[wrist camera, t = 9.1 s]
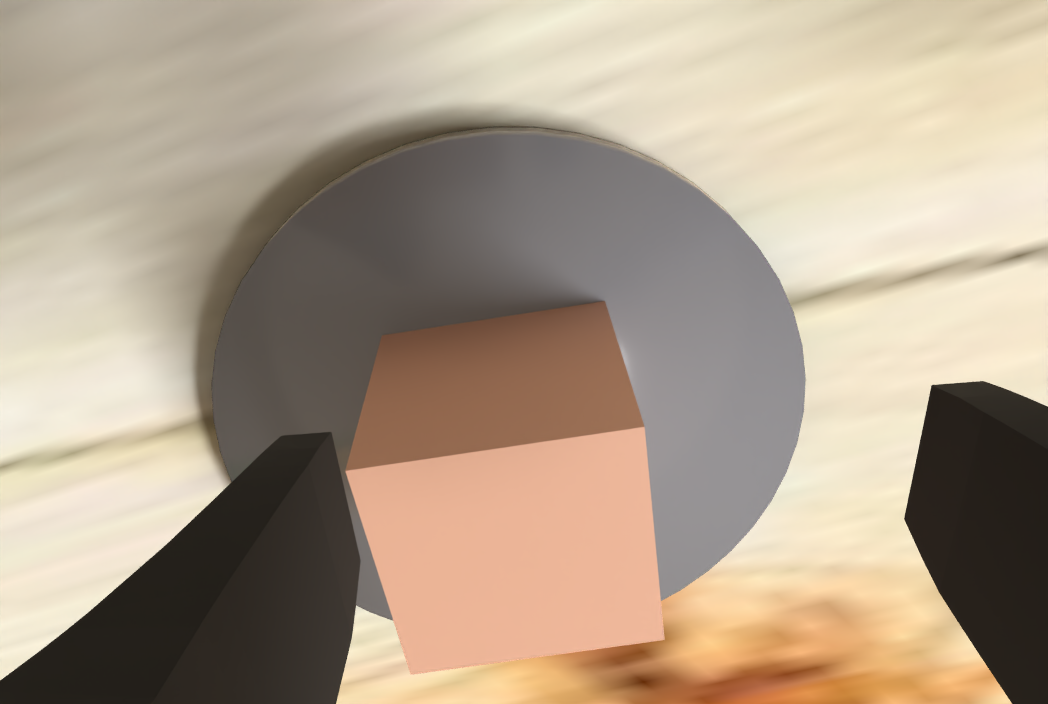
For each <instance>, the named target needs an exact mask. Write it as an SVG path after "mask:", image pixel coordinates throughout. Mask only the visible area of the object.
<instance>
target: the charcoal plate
mask: <svg viewBox="0 0 1048 704" xmlns="http://www.w3.org/2000/svg"><path fill="white" fill-rule="evenodd" d="M602 301H605V303H606V306H607V309H608V312H609V315H610V319H611V322H612V325H613V328H614V331H615V334H616V338H617V341H618V344H619V347H620V350H621V354H622V357H623V360H624V363H625V366H626V369H627V373H628V376H629V379H630V382H631V385H632V388H633V392H634V395H635V398H636V401H637V404H638V407H639V411H640V414H641V417H642V420H643V423H644V426H645V436H646V447H647V458H648V468H649V479H650V490H651V501H652V511H653V522H654V533H655V543H656V554H657V565H658V576H659V586H660V597H661V601H662V600H664V599H665V598H667V597H669V596H671V595H673V594H674V593H676V592H678V591H680V590H682V589H683V588H685V587H686V586H687V585H689V584H690V583H692V582H693V581H695V580H696V579H697V578H699V577H700V576H702V575H703V574H705V573H706V572H707V571H709V570H710V569H711V568H712V567H713V566H714V565H715V564H717V563H718V562H719V561H720V560H721V559H722V558H724V557H725V556H726V555H727V554H728V553H729V552H730V551H732V549H733V548H734V547H735V546H736V545H737V544H738V543H739V542H740V541H741V540H742V538H743V537H744V536H745V535H746V534H747V533H748V532H749V531H750V530H751V529H752V527H753V526H754V525H755V523H756V522H757V520H758V519H759V518H760V516H761V515H762V513H763V512H764V511H765V509H766V508H767V506H768V505H769V504H770V502H771V501H772V499H773V497H774V495H775V493H776V491H777V489H778V487H779V485H780V484H781V482H782V480H783V478H784V476H785V474H786V472H787V469H788V466H789V464H790V461H791V458H792V455H793V453H794V450H795V447H796V445H797V441H798V436H799V431H800V427H801V422H802V417H803V412H804V397H805V379H806V378H805V368H804V358H803V348H802V343H801V339H800V335H799V331H798V327H797V323H796V320H795V316H794V312H793V310H792V307H791V305H790V303H789V301H788V298H787V296H786V294H785V292H784V289H783V287H782V285H781V283H780V280H779V278H778V277H777V275H776V274H775V272H774V271H773V269H772V268H771V266H770V264H769V263H768V261H767V260H766V258H765V257H764V255H763V254H762V252H761V251H760V249H759V248H758V246H757V245H756V244H755V243H754V242H753V241H752V239H751V238H750V237H749V236H748V235H747V234H746V233H745V232H744V230H743V229H742V228H741V227H740V226H739V225H738V224H737V223H736V221H735V220H734V219H733V218H732V217H731V216H730V215H729V214H728V212H727V211H726V210H725V209H724V208H723V207H722V206H721V205H720V204H718V203H717V202H716V201H715V200H714V199H712V198H711V197H710V196H709V195H708V194H706V193H705V192H704V191H703V190H702V189H700V188H699V187H698V186H697V185H696V184H694V183H693V182H691V181H690V180H688V179H687V178H685V177H683V176H682V175H680V174H678V173H677V172H675V171H674V170H672V169H670V168H669V167H667V166H665V165H664V164H662V163H660V162H659V161H657V160H654V159H652V158H650V157H647V156H645V155H643V154H640V153H638V152H636V151H633V150H631V149H629V148H627V147H624V146H622V145H619V144H616V143H612V142H609V141H605V140H601V139H598V138H594V137H590V136H587V135H583V134H580V133H573V132H566V131H559V130H551V129H544V128H536V127H489V128H481V129H474V130H466V131H458V132H451V133H445V134H441V135H438V136H434V137H430V138H427V139H423V140H419V141H416V142H412V143H408V144H405V145H402V146H400V147H398V148H395V149H393V150H391V151H388V152H386V153H383V154H381V155H379V156H376V157H374V158H372V159H369V160H367V161H365V162H363V163H361V164H360V165H358V166H356V167H355V168H353V169H351V170H350V171H348V172H346V173H345V174H343V175H341V176H340V177H338V178H336V179H335V180H333V181H331V182H330V183H328V184H327V185H326V186H325V187H323V188H322V189H321V190H320V191H319V192H317V193H316V194H315V195H314V196H312V197H311V198H310V199H309V200H308V201H306V202H305V203H304V204H303V205H301V206H300V207H299V208H298V209H297V210H296V211H295V212H294V213H293V214H292V215H291V216H290V217H289V219H288V220H287V221H286V222H285V223H284V224H283V225H282V226H281V227H280V228H279V230H278V231H277V232H276V233H275V234H274V235H273V236H272V237H271V239H270V240H269V241H268V243H267V244H266V245H265V247H264V248H263V250H262V251H261V253H260V254H259V256H258V257H257V259H256V260H255V262H254V263H253V265H252V266H251V268H250V269H249V271H248V272H247V274H246V275H245V277H244V278H243V280H242V281H241V283H240V285H239V287H238V289H237V291H236V294H235V296H234V298H233V300H232V302H231V305H230V307H229V309H228V311H227V313H226V315H225V318H224V322H223V326H222V329H221V333H220V336H219V340H218V344H217V347H216V351H215V360H214V369H213V378H212V401H213V420H214V424H215V429H216V434H217V439H218V443H219V448H220V452H221V455H222V458H223V460H224V463H225V466H226V468H227V471H228V474H229V476H230V479H231V482H233V481H234V480H235V479H236V478H237V477H238V476H239V475H240V474H241V473H242V472H243V471H244V470H245V469H246V468H247V467H248V466H249V465H250V464H251V463H252V462H253V461H254V460H255V459H256V458H257V457H258V456H259V455H260V454H261V453H262V452H264V451H265V450H266V449H267V448H268V447H269V446H270V445H271V444H272V443H273V442H275V441H276V440H277V439H278V438H279V437H280V436H283V435H296V434H309V433H322V432H332V436H333V441H334V445H335V450H336V454H337V458H338V463H339V467H340V472H341V476H342V480H343V485H344V489H345V494H346V498H347V502H348V507H349V511H350V516H351V520H352V524H353V529H354V533H355V538H356V542H357V546H358V551H359V555H360V560H361V562H360V572H359V581H358V591H357V600H356V605H357V606H359V607H361V608H363V609H365V610H367V611H369V612H371V613H374V614H377V615H379V616H382V617H385V618H387V619H390V620H393V618H392V615H391V611H390V608H389V605H388V602H387V599H386V596H385V593H384V590H383V587H382V583H381V580H380V577H379V574H378V571H377V568H376V565H375V562H374V559H373V556H372V552H371V549H370V546H369V543H368V540H367V537H366V534H365V531H364V528H363V524H362V521H361V518H360V515H359V512H358V509H357V506H356V503H355V500H354V496H353V493H352V490H351V487H350V484H349V481H348V478H347V475H346V472H345V470H346V466H347V463H348V459H349V455H350V452H351V448H352V444H353V441H354V437H355V433H356V429H357V426H358V422H359V418H360V415H361V411H362V407H363V404H364V400H365V396H366V392H367V389H368V385H369V381H370V378H371V374H372V370H373V367H374V363H375V359H376V355H377V352H378V348H379V344H380V341H381V337H382V335H388V334H394V333H401V332H407V331H414V330H420V329H427V328H433V327H440V326H446V325H453V324H459V323H466V322H472V321H479V320H485V319H492V318H498V317H505V316H511V315H518V314H524V313H531V312H537V311H544V310H550V309H557V308H563V307H570V306H576V305H583V304H589V303H596V302H602Z"/></svg>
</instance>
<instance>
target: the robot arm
mask: <svg viewBox="0 0 1048 704" xmlns="http://www.w3.org/2000/svg"><path fill="white" fill-rule="evenodd" d="M904 519H905V522H906V524H907V526H908V528H909V530H910V533H911V535H912V537H913V539H914V541H915V544H916V546H917V548H918V550H919V552H920V554H921V557H922V559H923V561H924V563H925V565H926V567H927V569H928V571H929V573H930V575H931V577H932V579H933V581H934V583H935V585H936V587H937V589H938V591H939V593H940V594H941V596H942V597H943V599H944V601H945V602H946V604H947V605H948V607H949V608H950V610H951V612H952V613H953V615H954V616H955V618H956V619H957V621H958V622H959V624H960V625H961V627H962V629H963V630H964V632H965V633H966V635H967V636H968V638H969V639H970V641H971V642H972V644H973V645H974V647H975V648H976V650H977V651H978V653H979V655H980V656H981V658H982V659H983V661H984V662H985V664H986V665H987V667H988V668H989V670H990V671H991V673H992V674H993V676H994V677H995V679H996V680H997V682H998V683H999V684H1000V686H1001V687H1002V689H1003V690H1004V692H1005V693H1006V695H1007V696H1008V698H1009V699H1010V701H1011V702H1012V704H1048V407H1047V406H1045V405H1043V404H1040V403H1038V402H1036V401H1033V400H1031V399H1029V398H1026V397H1024V396H1022V395H1019V394H1017V393H1014V392H1012V391H1009V390H1006V389H1004V388H1001V387H998V386H995V385H993V384H990V383H987V382H984V381H980V382H967V383H954V384H941V385H932V386H931V391H930V396H929V401H928V406H927V411H926V416H925V420H924V425H923V430H922V435H921V440H920V445H919V450H918V454H917V459H916V464H915V469H914V474H913V479H912V484H911V489H910V493H909V498H908V503H907V508H906V513H905V518H904ZM360 562H361V560H360V555H359V551H358V546H357V542H356V538H355V533H354V529H353V524H352V520H351V516H350V511H349V507H348V502H347V498H346V494H345V489H344V485H343V480H342V476H341V472H340V467H339V463H338V458H337V454H336V450H335V445H334V441H333V436H332V432H322V433H309V434H296V435H283V436H280V437H279V438H278V439H277V440H276V441H275V442H273V443H272V444H271V445H270V446H269V447H268V448H267V449H266V450H265V451H264V452H262V453H261V454H260V455H259V456H258V457H257V458H256V459H255V460H254V461H253V462H252V463H251V464H250V465H249V466H248V467H247V468H246V469H245V470H244V471H243V472H242V473H241V474H240V475H239V476H238V477H237V478H236V479H235V480H234V481H233V482H231V483H230V484H229V485H228V486H227V487H226V488H225V489H224V490H223V491H222V492H221V493H220V494H219V495H218V496H217V497H216V498H215V499H214V500H213V501H212V502H211V503H210V504H209V505H208V506H207V507H206V508H204V509H203V510H202V511H201V512H200V513H199V514H198V515H197V516H196V517H195V518H194V519H193V520H192V521H191V522H190V523H189V524H188V525H187V526H186V527H184V528H183V529H182V530H181V531H180V532H179V533H178V534H177V535H176V536H175V537H174V538H173V539H172V540H171V541H170V542H169V543H167V544H166V545H165V546H164V547H163V548H162V549H161V550H160V551H159V552H157V553H156V554H155V555H154V556H153V557H152V558H151V559H149V560H148V561H147V562H146V563H145V564H144V565H142V566H141V567H140V568H139V569H138V570H137V571H136V572H134V573H133V574H132V575H131V576H130V577H129V578H128V579H126V580H125V581H124V582H123V583H122V584H121V585H119V586H118V587H117V588H116V589H115V590H114V591H113V592H111V593H110V594H109V595H108V596H107V597H106V598H105V599H103V600H102V601H101V602H100V603H99V604H98V605H96V606H95V607H94V608H93V609H92V610H91V611H90V612H88V613H87V614H86V615H85V616H83V617H82V618H81V619H80V620H79V621H77V622H76V623H75V624H74V625H72V626H71V627H70V628H69V629H67V630H66V631H65V632H64V633H62V634H61V635H60V636H59V637H57V638H56V639H55V640H53V641H52V642H51V643H50V644H48V645H47V646H46V647H45V648H43V649H42V650H41V651H39V652H38V653H37V654H35V655H34V656H33V657H31V658H30V659H29V660H27V661H26V662H25V663H23V664H22V665H21V666H19V667H18V668H17V669H15V670H14V671H13V672H11V673H10V674H9V675H7V676H6V677H4V678H3V679H2V680H0V704H336V701H337V697H338V693H339V688H340V684H341V680H342V676H343V672H344V668H345V664H346V660H347V655H348V651H349V647H350V643H351V638H352V631H353V624H354V616H355V608H356V600H357V591H358V581H359V572H360Z"/></svg>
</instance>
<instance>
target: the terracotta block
mask: <svg viewBox="0 0 1048 704" xmlns="http://www.w3.org/2000/svg"><path fill="white" fill-rule="evenodd" d="M345 472H346V475H347V478H348V481H349V484H350V487H351V490H352V493H353V496H354V500H355V503H356V506H357V509H358V512H359V515H360V518H361V521H362V524H363V528H364V531H365V534H366V537H367V540H368V543H369V546H370V549H371V552H372V556H373V559H374V562H375V565H376V568H377V571H378V574H379V577H380V580H381V583H382V587H383V590H384V593H385V596H386V599H387V602H388V605H389V608H390V611H391V615H392V618H393V621H394V624H395V627H396V630H397V633H398V636H399V639H400V643H401V646H402V649H403V652H404V655H405V658H406V661H407V664H408V667H409V670H410V674H411V675H412V674H419V673H426V672H433V671H441V670H448V669H455V668H463V667H470V666H477V665H484V664H492V663H499V662H506V661H514V660H521V659H528V658H535V657H543V656H550V655H557V654H565V653H572V652H579V651H586V650H594V649H601V648H608V647H616V646H623V645H630V644H637V643H645V642H652V641H659V640H664V629H663V618H662V608H661V597H660V586H659V576H658V565H657V554H656V543H655V533H654V522H653V511H652V501H651V490H650V479H649V468H648V458H647V447H646V436H645V426H644V423H643V420H642V417H641V414H640V411H639V407H638V404H637V401H636V398H635V395H634V392H633V388H632V385H631V382H630V379H629V376H628V373H627V369H626V366H625V363H624V360H623V357H622V354H621V350H620V347H619V344H618V341H617V338H616V334H615V331H614V328H613V325H612V322H611V319H610V315H609V312H608V309H607V306H606V303H605V301H602V302H596V303H589V304H583V305H576V306H570V307H563V308H557V309H550V310H544V311H537V312H531V313H524V314H518V315H511V316H505V317H498V318H492V319H485V320H479V321H472V322H466V323H459V324H453V325H446V326H440V327H433V328H427V329H420V330H414V331H407V332H401V333H394V334H388V335H382V337H381V341H380V344H379V348H378V352H377V355H376V359H375V363H374V367H373V370H372V374H371V378H370V381H369V385H368V389H367V392H366V396H365V400H364V404H363V407H362V411H361V415H360V418H359V422H358V426H357V429H356V433H355V437H354V441H353V444H352V448H351V452H350V455H349V459H348V463H347V466H346V470H345Z"/></svg>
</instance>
